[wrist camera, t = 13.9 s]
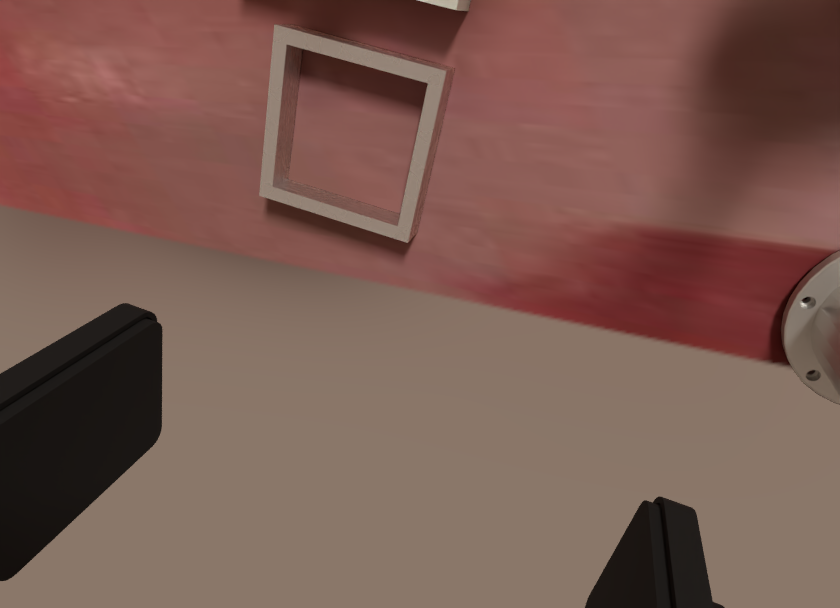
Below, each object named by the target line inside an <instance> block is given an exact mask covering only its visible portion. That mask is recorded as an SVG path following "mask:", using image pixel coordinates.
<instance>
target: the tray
mask: <svg viewBox="0 0 840 608" xmlns="http://www.w3.org/2000/svg"><path fill="white" fill-rule="evenodd" d="M418 1H422V2H426V3H430V4H434V5H437V6H441V7H445V8H449V9H453V10H459V11H468V10H469V6H470V2H471V0H418Z"/></svg>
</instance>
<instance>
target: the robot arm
mask: <svg viewBox="0 0 840 608" xmlns="http://www.w3.org/2000/svg"><path fill="white" fill-rule="evenodd" d="M806 297H808V299H807V300H802V299H803V298H806ZM781 337H782V346H783V348H784V351H785V354H786V357H787V359H788V361H789V363H790V365H791V366H792V368H793V370H794V372H795V373H796V374H797V376H798V377H799V378H800V379H801V381H802V382H803V383H804V384H805V385H807V386H808V387H809V388H810V389H812V390H813V391H815V393H817V394H818V395H820V396H822V397H824V398H826V399H828V400H830V401H832V402H834V403H836V404H840V250H839V251H837V252H836V253H834V254H832V255H830V256H829V257H827V258H826V259H825V260H823V261H822V262H821V263H819V264H818V265H817V266H815V267H814V268H813V269H812V270H811V271H810V272H809V273H808V274H807V275H806V276H805V277H804V278H803V279H802V280H801V281H800V283H799V284H798V286H797V287H796V289H795V290H794V292H793V293H792V295H791V296H790V298H789V300H788V303H787V305H786V308H785V310H784V313H783V318H782V325H781ZM811 370H812V371H811ZM161 427H162V326H161V324H159V323H158V322H157V318H156V316H155V314H153V313H152V312H150V311H147V310H144V309H141V308H139V307H136V306H133V305H130V304H127V303H125V304H124V303H123V304H120V305H118V306H117V307H114V308H113V309H111V310H109V311H107V312H106V313H104V314H102V315H101V316H99V317H97V318H96V319H94V320H92V321H90V322H89V323H87V324H85V325H83V326H82V327H80V328H78V329H77V330H75V331H73V332H71V333H70V334H68V335H66V336H65V337H63V338H61V339H59V340H58V341H56V342H55V343H52V344H51V345H49V346H47V347H46V348H44V349H42V350H40V351H39V352H37V353H35V354H34V355H32V356H30V357H28V358H27V359H25V360H23V361H22V362H20V363H18V364H16V365H15V366H13V367H11V368H9V369H8V370H6V371H4V372H3V373H1V374H0V581H6V580H8V579H10V578H12V577H13V576H14V575H15V574H17V572H19V571H20V570H21V569H22V568H23V567H24V566H25V565H26V564H27V563H28V562H29V561H30V560H32V559H33V558H34V557H35V556H36V555H37V554H38V553H39V552H40V551H41V550H42V549H43V548H44V547H45V546H46V545H47V544H48V543H50V542H51V541H52V540H53V539H54V538H55V537H56V536H57V535H58V534H59V533H60V532H61V531H62V530H63V529H65V528H66V527H67V526H68V525H69V524H70V523H71V522H72V521H73V520H74V519H75V518H76V517H77V516H78V515H79V514H81V513H82V512H83V511H84V510H85V509H86V508H87V507H88V506H89V505H90V504H91V503H92V502H93V501H94V500H96V499H97V498H98V497H99V496H100V495H101V494H102V493H103V492H104V491H105V490H106V489H107V488H108V487H110V485H112V483H114V482H115V481H116V480H117V479H118V478H119V477H120V476H121V475H122V474H123V473H124V472H125V471H126V470H128V469H129V468H130V467H131V466H132V465H133V464H134V463H135V462H136V461H137V460H138V459H139V458H140V457H142V456H143V455H144V454H145V453H146V452H147V451H148V450H149V449H150V448H151V447H152V446H153V445H154V444H155V443H156V441H157V440H158V437H159V435H160V432H161ZM585 608H724V607H723V606H722V605H720V604H717V603H714V602H713V601H712V596H711V590H710V585H709V580H708V574H707V569H706V563H705V558H704V553H703V547H702V542H701V536H700V531H699V525H698V520H697V515H696V512H695V510H694V509H693V508H691V507H688V506H685V505H682V504H680V503H677V502H674V501H671V500H669V499H666V498H663V497H657V498H656V499H655V500H654V502H653V503H652V502H649V501H643V502H642V504H641V505H640V506H639V508H638V510H637V512H636V513H635V515H634V517H633V519H632V521H631V522H630V524H629V526H628V528H627V529H626V531H625V533H624V535H623V537H622V538H621V540H620V542H619V544H618V545H617V547H616V549H615V551H614V553H613V555H612V556H611V558H610V560H609V561H608V563H607V565H606V567H605V569H604V570H603V572H602V574H601V576H600V577H599V579H598V581H597V583H596V585H595V586H594V588H593V590H592V592H591V594H590V595H589V598H588V600H587V603H586V606H585Z"/></svg>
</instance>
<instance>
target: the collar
mask: <svg viewBox="0 0 840 608" xmlns="http://www.w3.org/2000/svg"><path fill="white" fill-rule="evenodd" d="M303 49H305V50H309V51H313V52H316V53H320V54H324V55H327V56H331V57H334V58H338V59H342V60H345V61H349V62H353V63H356V64H360V65H363V66H367V67H371V68H374V69H378V70H381V71H385V72H389V73H392V74H396V75H400V76H403V77H407V78H410V79H414V80H418V81H421V82H425V83H428V86H427V90H426V95H425V100H424V104H423V109H422V114H421V119H420V123H419V128H418V133H417V137H416V142H415V147H414V152H413V156H412V161H411V166H410V170H409V175H408V180H407V185H406V189H405V194H404V199H403V203H402V208H401V213H400V214H398V213H395V212H392V211H389V210H385V209H382V208H379V207H376V206H373V205H369V204H366V203H363V202H360V201H357V200H353V199H350V198H347V197H344V196H341V195H337V194H334V193H331V192H328V191H325V190H321V189H318V188H315V187H312V186H309V185H305V184H302V183H299V182H296V181H293V180H289V179H288V176H289V167H290V158H291V149H292V140H293V131H294V122H295V113H296V104H297V95H298V86H299V77H300V68H301V59H302V50H303ZM454 71H455V68H452V67H448V66H444V65H441V64H437V63H433V62H430V61H426V60H422V59H419V58H415V57H411V56H408V55H404V54H400V53H396V52H393V51H389V50H385V49H382V48H378V47H374V46H371V45H367V44H363V43H359V42H356V41H352V40H348V39H345V38H341V37H337V36H334V35H330V34H326V33H322V32H319V31H315V30H311V29H308V28H304V27H300V26H297V25H293V24H274V35H273V47H272V58H271V69H270V81H269V92H268V103H267V114H266V126H265V137H264V148H263V160H262V171H261V182H260V193H259V196H262V197H265V198H268V199H271V200H275V201H278V202H281V203H284V204H287V205H290V206H293V207H297V208H300V209H303V210H306V211H309V212H312V213H315V214H318V215H322V216H325V217H328V218H331V219H334V220H337V221H340V222H343V223H347V224H350V225H353V226H356V227H359V228H362V229H365V230H368V231H372V232H375V233H378V234H381V235H384V236H387V237H390V238H394V239H397V240H400V241H403V242H406V243H408V242H409V241H410V240H411V239H412V238H413V237H414V236H415V234H416V233H417V232H418V227H419V223H420V219H421V214H422V210H423V206H424V201H425V197H426V193H427V188H428V184H429V180H430V175H431V171H432V167H433V162H434V158H435V154H436V149H437V145H438V140H439V136H440V132H441V127H442V123H443V119H444V114H445V110H446V106H447V101H448V97H449V93H450V88H451V84H452V80H453V75H454Z"/></svg>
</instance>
